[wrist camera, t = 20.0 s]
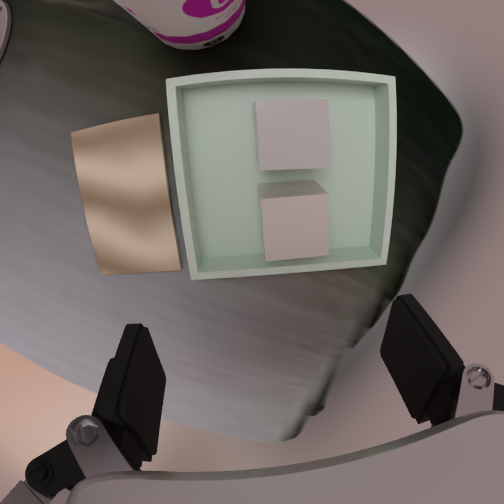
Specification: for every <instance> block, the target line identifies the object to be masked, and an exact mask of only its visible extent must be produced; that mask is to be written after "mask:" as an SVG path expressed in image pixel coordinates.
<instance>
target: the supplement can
mask: <svg viewBox="0 0 504 504" xmlns="http://www.w3.org/2000/svg"><path fill="white" fill-rule="evenodd" d="M114 1H115V2H116V3H117V4H119V5H120V6H121V7H122V8H124V9H125V10H126V11H127V12H128V13H130V14H131V15H132V16H133V17H135V18H136V19H137V20H138V21H139V22H140V23H142V24H143V25H144V26H145V27H146V28H148V29H149V30H150V31H151V32H152V33H153V34H154V35H156V36H157V37H158V38H159V39H160V40H161V41H162V42H163V43H165V44H167V45H169V46H172V47H175V48H177V49H183V50H199V49H203V48H207V47H212V46H214V45H216V44H218V43H220V42H221V41H223V40H225V39H227V38H228V37H229V36H230V35H231V34H232V33H233V32H234V31H235V30H236V29H237V28H238V27H239V25H240V23H241V21H242V18H243V16H244V14H245V0H114Z"/></svg>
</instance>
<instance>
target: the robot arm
mask: <svg viewBox="0 0 504 504" xmlns="http://www.w3.org/2000/svg"><path fill="white" fill-rule="evenodd" d="M10 29H11V10H10V8H9V5H8V4H7V3H6V2H5V1H2V0H0V60H1V57H2V55H3V53H4V50H5V48H6V45H7V42H8V38H9V34H10ZM380 354H381V357H382V359H383V361H384V363H385V365H386V367H387V369H388V371H389V373H390V374H391V376H392V378H393V380H394V382H395V384H396V386H397V388H398V390H399V392H400V394H401V396H402V398H403V400H404V402H405V405H406V407H407V408H408V411H409V413H410V415H411V417H412V418H414V419H415V418H416V421H417V422H418V424H420V423H423V422H426V421H428V420H430V422H431V424H432V425H431V428H429V429H426V430H424V431H421V432H418V433H415V434H412V435H410V436H407V437H404V438H401V439H398V440H395V441H392V442H388V443H385V444H382V445H379V446H375V447H372V448H368V449H364V450H360V451H357V452H353V453H349V454H344V455H341V456H336V457H332V458H326V459H321V460H316V461H311V462H305V463H300V464H292V465H286V466H279V467H270V468H261V469H250V470H236V471H217V472H216V471H215V472H168V471H142V470H141V469H140V467H141V466H142V461H148V462H151V460H152V455H155V454H156V453H157V445H158V437H159V428H160V421H161V413H162V406H163V399H164V392H165V385H166V376H165V372H164V370H163V367H162V365H161V362H160V360H159V357H158V354H157V352H156V349H155V346H154V344H153V341H152V338H151V335H150V332H149V330H148V328H147V327H144V326H143V325H142V324H141V323H140V324H127V325H126V326H125V329H124V332H123V335H122V337H121V340H120V343H119V346H118V349H117V352H116V355H115V358H111V359H110V360H109V362H108V365H107V368H106V371H105V374H104V377H103V380H102V383H101V386H100V389H99V392H98V395H97V398H96V402H95V405H94V408H93V412H92V415H91V416H90V415H82V416H80V417H77V418H76V419H74V420H73V421H72V422H71V423H70V424H69V426H68V428H67V431H66V438H67V439H66V440H65V441H63V442H62V443H60V444H58V445H57V446H55V447H54V448H52V449H50V450H49V451H47V452H45V453H44V454H42V455H40V456H38V457H37V458H35V459H33V460H32V461H31V462H30V463H29V464H28V466H27V468H26V471H25V478H26V480H25V481H24V482H23V481H21V480H20V481H19V482H18V484H17V485H16V486H15V487H14V488H13V489H12V490H11V491H10V493H9V494H8V495H7V496H6V497H5V498H4V499H3V501H2V502H1V503H0V504H504V386H503V385H500V384H497V383H494V376H493V374H492V372H491V371H490V370H489V369H488V368H487V367H485V366H484V365H481V364H476V363H475V364H470V365H468V366H467V367H465V366H464V365H463V363H464V362H463V361H462V359H461V358H460V356H459V355H458V353H457V352H456V351H455V349H454V348H453V347H452V345H451V344H450V342H449V341H448V340H447V338H446V337H445V336H444V334H443V333H442V332H441V331H440V329H439V328H438V326H437V325H436V324H435V323H434V321H433V320H432V319H431V317H430V316H429V315H428V314H427V312H426V311H425V310H424V309H423V307H422V306H421V305H420V304H419V302H418V301H417V300H416V299H415V297H414V296H413V295H412V294H406V295H400V296H397V297H396V300H394V301H393V302H392V306H391V310H390V315H389V319H388V322H387V326H386V330H385V334H384V338H383V341H382V345H381V348H380Z"/></svg>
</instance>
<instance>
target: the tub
mask: <svg viewBox="0 0 504 504" xmlns="http://www.w3.org/2000/svg"><path fill="white" fill-rule="evenodd" d="M166 90H167V102H168V114H169V125H170V135H171V144H172V153H173V162H174V170H175V178H176V186H177V194H178V201H179V208H180V215H181V222H182V228H183V235H184V241H185V247H186V253H187V259H188V265H189V271H190V276H191V280H200V279H216V278H231V277H245V276H259V275H272V274H285V273H298V272H310V271H322V270H333V269H344V268H355V267H366V266H376V265H386V262H387V255H388V248H389V240H390V232H391V223H392V213H393V201H394V188H395V172H396V143H397V110H396V82H395V77H394V76H387V75H379V74H371V73H362V72H352V71H340V70H323V69H254V70H237V71H224V72H214V73H205V74H196V75H189V76H182V77H175V78H169V79H166ZM267 99H328V106H329V142H330V168H315V169H285V170H265V171H260V170H259V167H258V164H257V162H256V150H255V133H254V117H253V102H254V101H255V100H267ZM312 179H314V180H315V181H316V182H317V183H318V184H319V185H320V186H321V187H322V188H323V189H324V190H325V191H327V192H328V193H329V255H325V256H316V257H306V258H296V259H287V260H277V261H267V262H266V259H265V253H264V247H263V242H262V235H261V223H260V212H259V201H258V190H257V184H261V183H272V182H284V181H297V180H312Z"/></svg>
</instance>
